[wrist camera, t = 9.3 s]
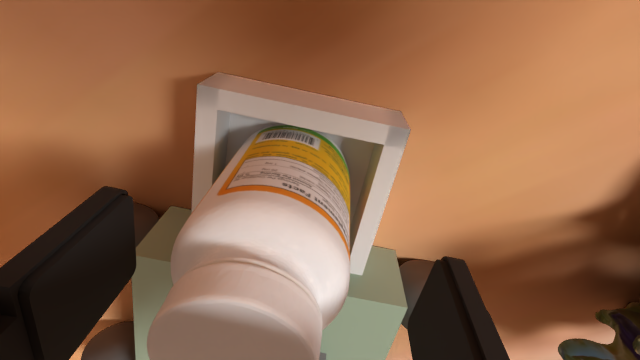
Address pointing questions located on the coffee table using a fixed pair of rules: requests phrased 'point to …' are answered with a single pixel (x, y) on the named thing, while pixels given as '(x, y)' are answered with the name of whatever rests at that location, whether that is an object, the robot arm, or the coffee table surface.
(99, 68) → the coffee table surface
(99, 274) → the robot arm
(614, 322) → the passion flower
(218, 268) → the supplement bottle
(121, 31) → the coffee table surface
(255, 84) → the green wheeled cart
